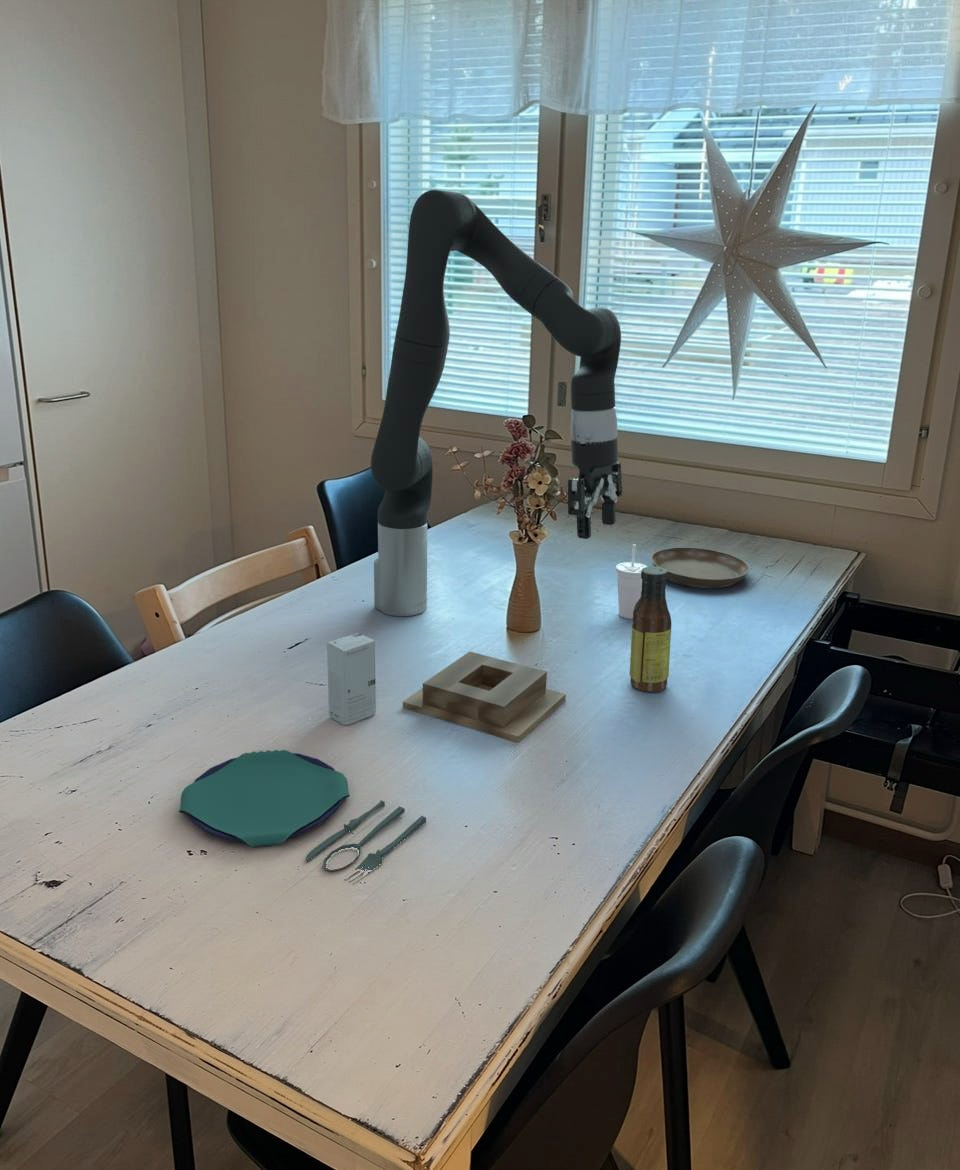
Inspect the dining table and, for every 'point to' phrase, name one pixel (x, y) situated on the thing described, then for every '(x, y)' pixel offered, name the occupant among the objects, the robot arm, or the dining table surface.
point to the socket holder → (488, 696)
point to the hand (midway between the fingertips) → (596, 530)
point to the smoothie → (629, 585)
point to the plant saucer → (700, 567)
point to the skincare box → (351, 678)
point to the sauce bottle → (651, 633)
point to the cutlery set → (277, 802)
